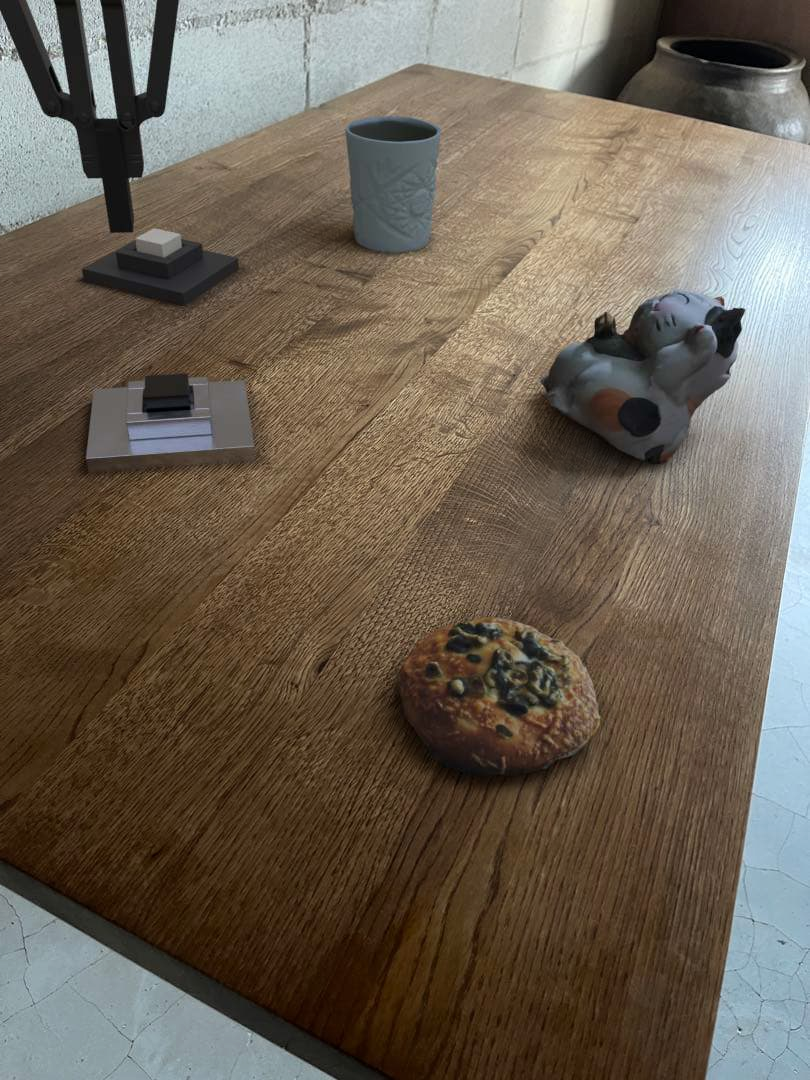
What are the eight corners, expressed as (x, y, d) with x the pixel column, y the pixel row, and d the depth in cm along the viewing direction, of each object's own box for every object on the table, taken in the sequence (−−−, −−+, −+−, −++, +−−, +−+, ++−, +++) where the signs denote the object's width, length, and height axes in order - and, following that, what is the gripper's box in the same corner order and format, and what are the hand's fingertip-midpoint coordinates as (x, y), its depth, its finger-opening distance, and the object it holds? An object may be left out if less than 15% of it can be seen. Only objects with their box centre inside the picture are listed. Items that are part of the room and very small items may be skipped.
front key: (147, 414, 69) (144, 396, 68) (147, 393, 71) (144, 375, 70) (190, 412, 69) (188, 393, 68) (189, 390, 72) (187, 373, 71)
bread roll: (380, 766, 47) (389, 692, 45) (410, 638, 57) (420, 571, 54) (594, 806, 47) (617, 733, 44) (589, 670, 56) (607, 603, 54)
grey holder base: (88, 474, 67) (81, 439, 65) (96, 404, 74) (90, 371, 73) (255, 461, 69) (252, 427, 67) (246, 394, 77) (243, 362, 75)
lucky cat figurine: (541, 373, 81) (636, 231, 76) (655, 447, 81) (758, 312, 76) (524, 411, 68) (638, 242, 62) (660, 500, 68) (787, 340, 62)
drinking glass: (435, 257, 101) (442, 143, 93) (343, 254, 101) (343, 139, 93) (432, 224, 109) (439, 116, 101) (347, 221, 109) (347, 112, 101)
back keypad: (83, 281, 92) (78, 252, 91) (143, 248, 100) (139, 221, 98) (184, 306, 89) (181, 277, 87) (239, 270, 96) (237, 242, 94)
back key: (136, 253, 92) (134, 238, 91) (155, 242, 94) (154, 227, 93) (163, 259, 91) (161, 244, 90) (182, 248, 93) (180, 233, 92)
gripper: (185, -216, 52) (217, 204, 67) (-63, -233, 49) (27, 207, 64) (187, -215, 46) (221, 244, 61) (-92, -233, 44) (14, 249, 59)
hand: (122, 224), depth 63 cm, fingers closed
